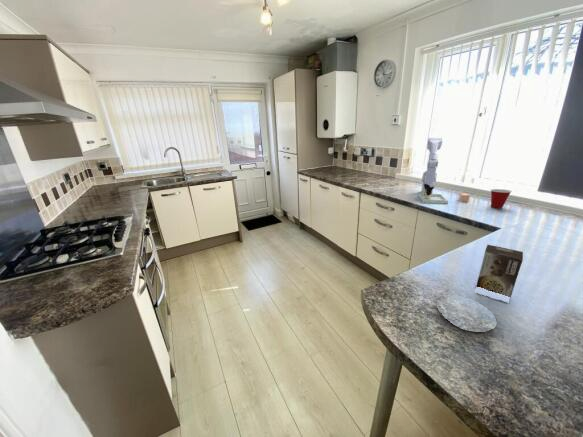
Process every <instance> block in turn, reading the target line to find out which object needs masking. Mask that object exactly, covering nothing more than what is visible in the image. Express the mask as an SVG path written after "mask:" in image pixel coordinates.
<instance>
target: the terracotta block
mask: <svg viewBox="0 0 583 437" xmlns="http://www.w3.org/2000/svg"><path fill="white" fill-rule="evenodd" d="M469 200H470V194H468V193H462V192H461V193H460V194H459V197H458V201H460V202H462V203H469Z"/></svg>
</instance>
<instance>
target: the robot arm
mask: <svg viewBox="0 0 583 437" xmlns="http://www.w3.org/2000/svg"><path fill="white" fill-rule="evenodd" d="M442 145H443V137H428V140H427V145H426V149H427V150H428V151H429V155H428V160H427V165H426V171H424V172H423V173H422V178H421V183H422V185H421V191H419V193H424V191H425V189H426V194H427V195H430V194H431V192H432V191H433V190H434V189H435V186H434V184H435V185H436V181H437V168H438V167H439V166H438V165H439V159H438V157H439V153H438V152H437V151H439V150H441V147H442ZM432 193H433V192H432Z"/></svg>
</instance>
